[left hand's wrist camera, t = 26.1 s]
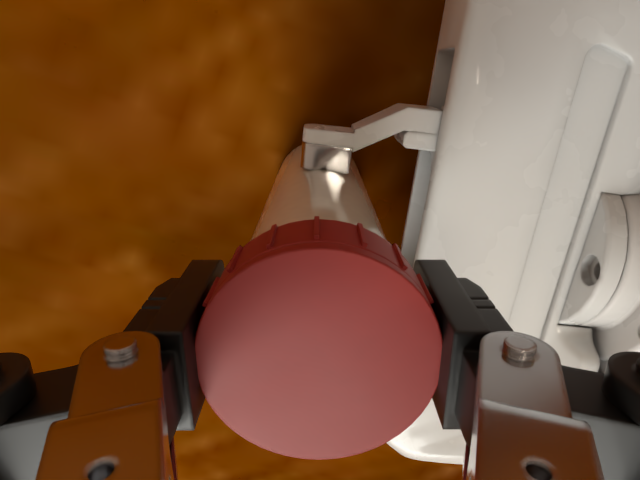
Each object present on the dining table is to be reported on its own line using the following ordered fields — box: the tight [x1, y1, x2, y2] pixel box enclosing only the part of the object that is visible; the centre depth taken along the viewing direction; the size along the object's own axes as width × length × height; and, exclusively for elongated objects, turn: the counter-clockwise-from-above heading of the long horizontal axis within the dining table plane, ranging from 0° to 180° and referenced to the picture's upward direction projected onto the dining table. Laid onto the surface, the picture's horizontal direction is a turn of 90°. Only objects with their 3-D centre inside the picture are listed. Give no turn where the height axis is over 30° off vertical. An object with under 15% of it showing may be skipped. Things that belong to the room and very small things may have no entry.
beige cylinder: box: [251, 145, 387, 241], centre depth 17 cm, size 4×4×15 cm
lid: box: [195, 216, 442, 459], centre depth 10 cm, size 5×5×2 cm
